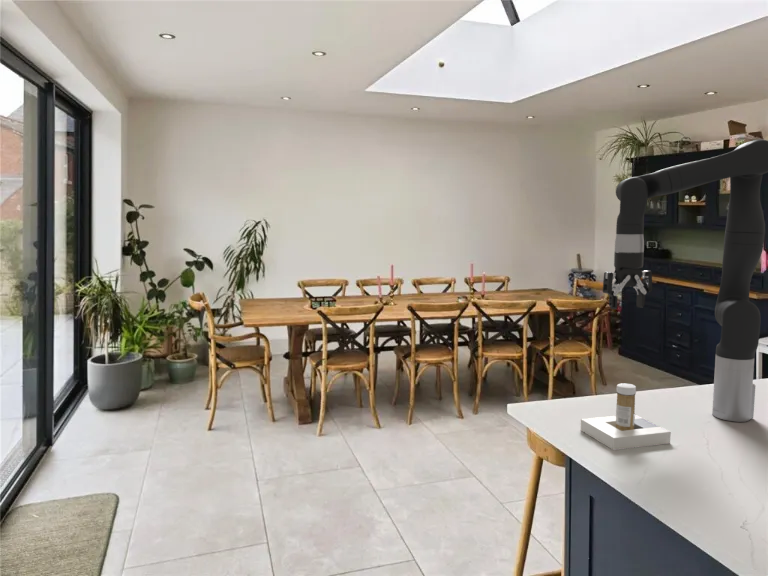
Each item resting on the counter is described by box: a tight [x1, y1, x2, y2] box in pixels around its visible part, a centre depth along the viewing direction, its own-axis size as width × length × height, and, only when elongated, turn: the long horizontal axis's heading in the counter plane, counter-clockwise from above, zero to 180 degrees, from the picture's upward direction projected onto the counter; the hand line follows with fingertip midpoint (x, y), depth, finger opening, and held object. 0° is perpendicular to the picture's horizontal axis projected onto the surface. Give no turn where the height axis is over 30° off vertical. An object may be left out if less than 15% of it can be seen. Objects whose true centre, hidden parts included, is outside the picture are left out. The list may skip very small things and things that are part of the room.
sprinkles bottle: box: [615, 382, 637, 431], centre depth 151 cm, size 5×5×14 cm
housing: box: [580, 414, 672, 451], centre depth 151 cm, size 16×14×3 cm
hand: (626, 308), depth 167 cm, fingers open, 8 cm apart
